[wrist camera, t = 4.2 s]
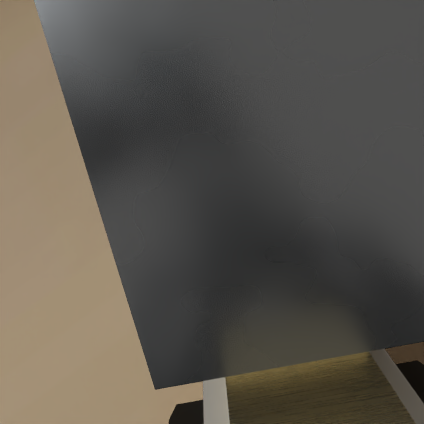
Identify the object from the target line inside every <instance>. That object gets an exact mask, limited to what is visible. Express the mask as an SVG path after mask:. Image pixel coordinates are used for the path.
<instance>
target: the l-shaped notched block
mask: <svg viewBox="0 0 424 424" xmlns="http://www.w3.org/2000/svg"><path fill="white" fill-rule="evenodd" d="M225 379H226V389H227V399H228V410H229V420H230V424H416V423H415V422H414V420H413V418H412V417H411V415H410V414H409V412H408V411H407V409H406V408H405V406H404V405H403V403H402V402H401V400H400V398H399V397H398V395H397V394H396V392H395V391H394V389H393V388H392V386H391V385H390V383H389V382H388V380H387V379H386V377H385V375H384V374H383V372H382V371H381V369H380V368H379V366H378V365H377V363H376V362H375V360H374V359H373V357H372V355H371V354H370V352H369V351H368V352H363V353H357V354H352V355H346V356H340V357H335V358H329V359H324V360H318V361H312V362H307V363H301V364H296V365H290V366H285V367H279V368H273V369H268V370H262V371H257V372H251V373H245V374H240V375H234V376H229V377H225Z"/></svg>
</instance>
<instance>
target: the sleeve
mask: <svg viewBox="0 0 424 424" xmlns="http://www.w3.org/2000/svg"><path fill="white" fill-rule="evenodd" d="M34 2H35V5H36V8H37V11H38V15H39V18H40V21H41V24H42V27H43V31H44V34H45V37H46V40H47V43H48V47H49V50H50V53H51V56H52V60H53V63H54V66H55V69H56V72H57V76H58V79H59V82H60V85H61V88H62V92H63V95H64V98H65V101H66V105H67V108H68V111H69V114H70V117H71V121H72V124H73V127H74V130H75V134H76V137H77V140H78V143H79V146H80V150H81V153H82V156H83V159H84V162H85V166H86V169H87V172H88V175H89V179H90V182H91V185H92V188H93V191H94V195H95V198H96V201H97V204H98V207H99V211H100V214H101V217H102V220H103V224H104V227H105V230H106V233H107V236H108V240H109V243H110V246H111V249H112V252H113V256H114V259H115V262H116V265H117V269H118V272H119V275H120V278H121V281H122V285H123V288H124V291H125V294H126V297H127V301H128V304H129V307H130V310H131V314H132V317H133V320H134V323H135V326H136V330H137V333H138V336H139V339H140V343H141V346H142V349H143V352H144V355H145V359H146V362H147V365H148V368H149V371H150V375H151V378H152V381H153V384H154V388H155V390H156V389H162V388H167V387H173V386H178V385H184V384H189V383H195V382H201V381H206V380H212V379H217V378H223V377H229V376H234V375H240V374H245V373H251V372H257V371H262V370H268V369H273V368H279V367H285V366H290V365H296V364H301V363H307V362H312V361H318V360H324V359H329V358H335V357H340V356H346V355H352V354H357V353H363V352H368V351H374V350H380V349H385V348H391V347H396V346H402V345H408V344H413V343H419V342H424V0H34Z"/></svg>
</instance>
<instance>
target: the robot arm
mask: <svg viewBox="0 0 424 424" xmlns="http://www.w3.org/2000/svg"><path fill="white" fill-rule="evenodd" d="M369 352H370V354H371V355H372V357H373V359H374V360H375V362H376V363H377V365H378V366H379V368H380V369H381V371H382V372H383V374H384V375H385V377H386V379H387V380H388V382H389V383H390V385H391V386H392V388H393V389H394V391H395V392H396V394H397V395H398V397H399V398H400V400H401V402H402V403H403V405H404V406H405V408H406V409H407V411H408V412H409V414H410V415H411V417H412V418H413V420H414V422H415V423H416V424H424V365H423V364H421V363H420V362H418V361H412V362H406V363H400V364H395V363H394V362H393V360H392V359H391V357H390V356H389V355H388V353H387V352H386V350H385V349H380V350H374V351H369ZM169 424H230V420H229V410H228V399H227V389H226V379H225V377H223V378H217V379H212V380H206V381H203V400H199V401H194V402H188V403H183V404H177V405H176V407H175V409H174V411H173V413H172V415H171V417H170V419H169Z"/></svg>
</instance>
